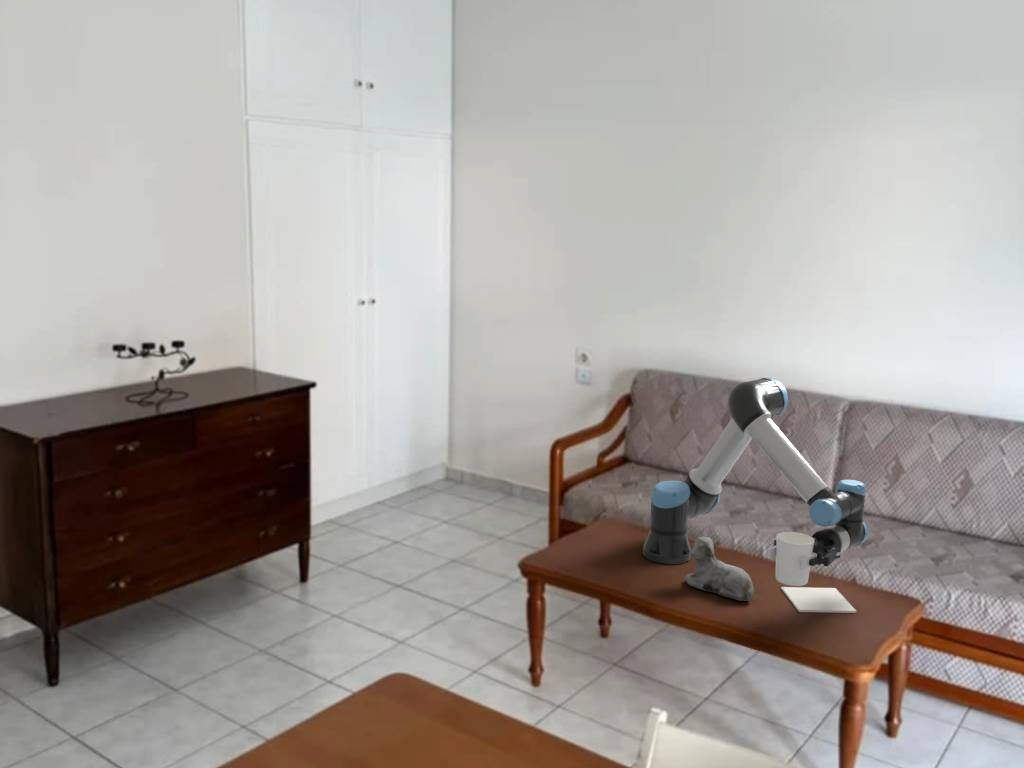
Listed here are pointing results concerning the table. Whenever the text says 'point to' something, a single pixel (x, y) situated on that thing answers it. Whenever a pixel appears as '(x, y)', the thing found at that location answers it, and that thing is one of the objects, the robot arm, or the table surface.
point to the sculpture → (718, 573)
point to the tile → (818, 600)
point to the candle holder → (792, 557)
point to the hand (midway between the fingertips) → (784, 559)
